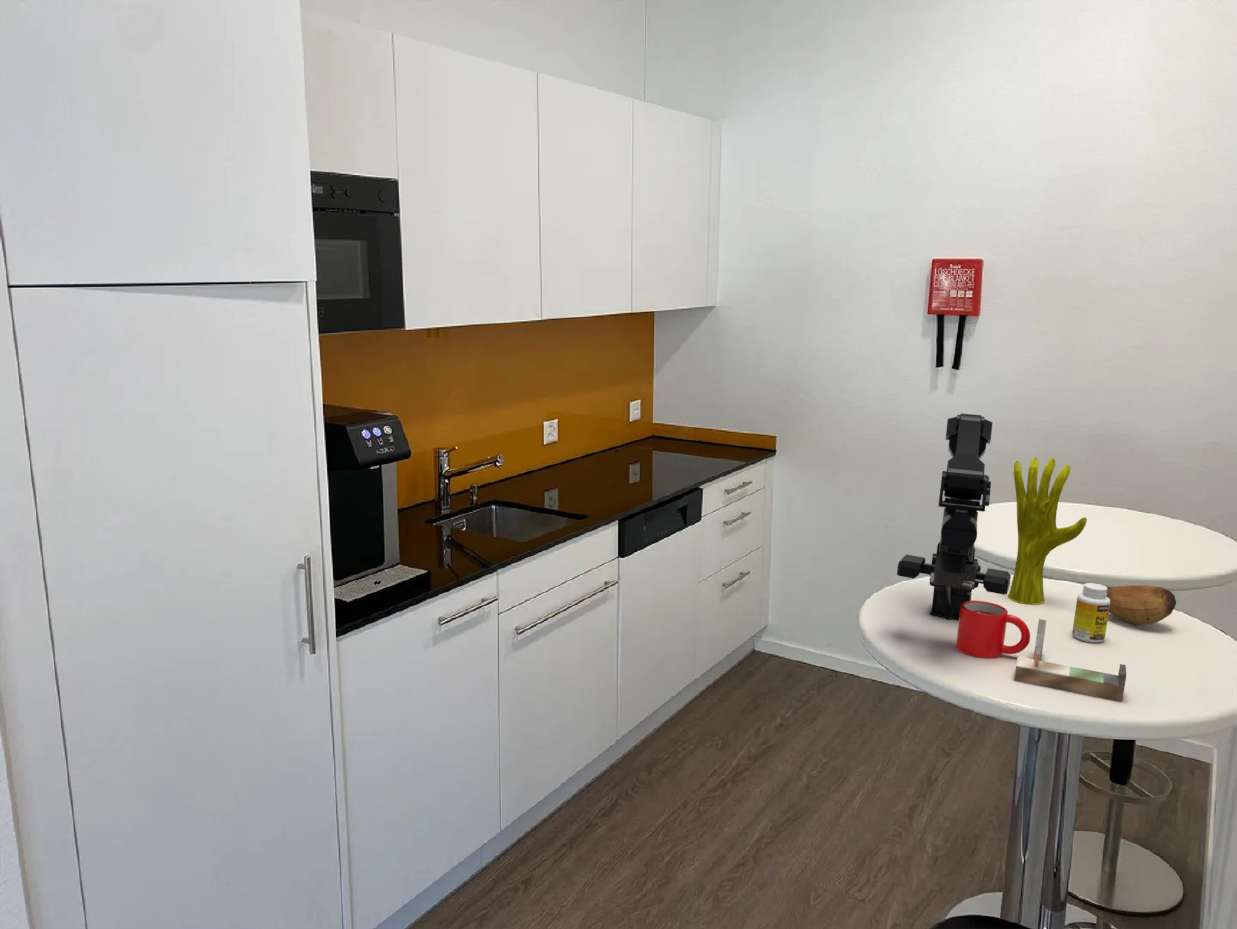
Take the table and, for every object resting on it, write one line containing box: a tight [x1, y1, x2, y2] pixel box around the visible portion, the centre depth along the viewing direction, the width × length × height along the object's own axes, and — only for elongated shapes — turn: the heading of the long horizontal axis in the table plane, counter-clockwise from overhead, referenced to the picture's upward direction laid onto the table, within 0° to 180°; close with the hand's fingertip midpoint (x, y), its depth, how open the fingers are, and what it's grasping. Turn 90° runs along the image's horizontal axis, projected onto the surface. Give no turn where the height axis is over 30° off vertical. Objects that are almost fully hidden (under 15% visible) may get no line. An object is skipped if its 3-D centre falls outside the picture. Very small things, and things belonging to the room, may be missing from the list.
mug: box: [955, 600, 1031, 659], centre depth 169 cm, size 8×12×8 cm, turn 60°
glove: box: [1007, 457, 1088, 606], centre depth 196 cm, size 15×8×30 cm, turn 49°
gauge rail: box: [1014, 656, 1127, 702], centre depth 156 cm, size 16×4×5 cm, turn 64°
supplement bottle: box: [1071, 582, 1110, 644], centre depth 178 cm, size 6×6×10 cm
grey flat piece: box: [1033, 618, 1047, 664], centre depth 164 cm, size 1×14×6 cm, turn 154°
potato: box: [1106, 584, 1177, 627], centre depth 187 cm, size 8×14×8 cm
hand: (947, 619), depth 173 cm, fingers closed
